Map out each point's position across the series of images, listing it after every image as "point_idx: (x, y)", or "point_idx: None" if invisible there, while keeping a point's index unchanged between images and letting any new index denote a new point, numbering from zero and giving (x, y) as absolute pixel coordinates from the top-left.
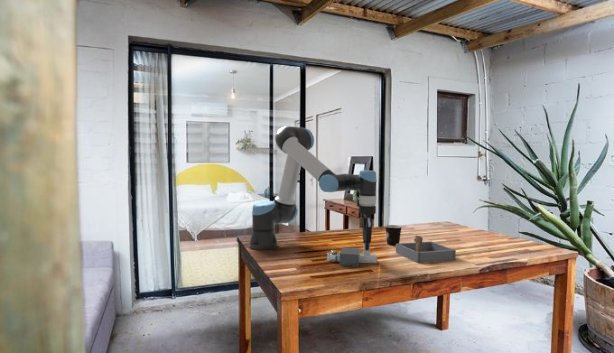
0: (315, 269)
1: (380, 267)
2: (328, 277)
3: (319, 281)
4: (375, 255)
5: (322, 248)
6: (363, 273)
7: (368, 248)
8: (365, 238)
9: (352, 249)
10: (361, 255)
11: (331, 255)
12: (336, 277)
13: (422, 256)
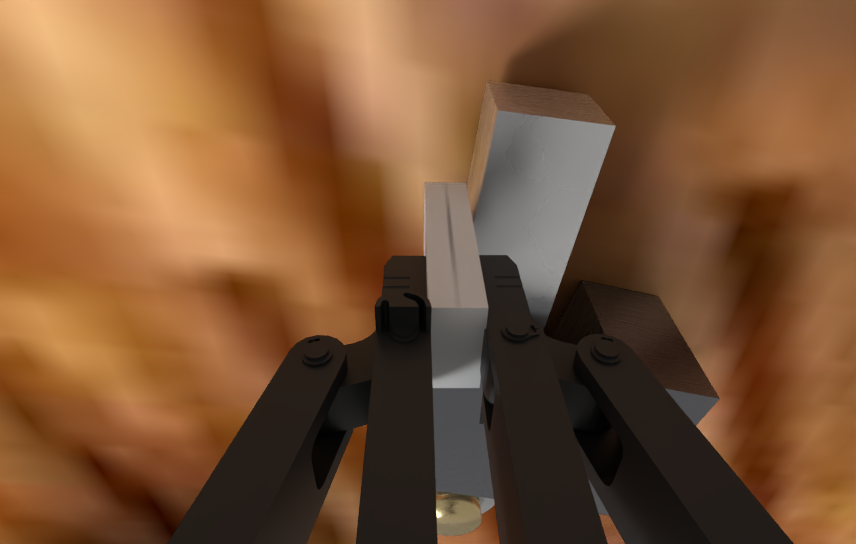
0: None
1: (694, 65)
2: (793, 472)
3: (839, 506)
4: (553, 138)
5: (40, 472)
6: (818, 276)
7: (516, 279)
8: (612, 474)
9: (470, 422)
10: (534, 307)
11: (490, 504)
12: (815, 439)
13: None
